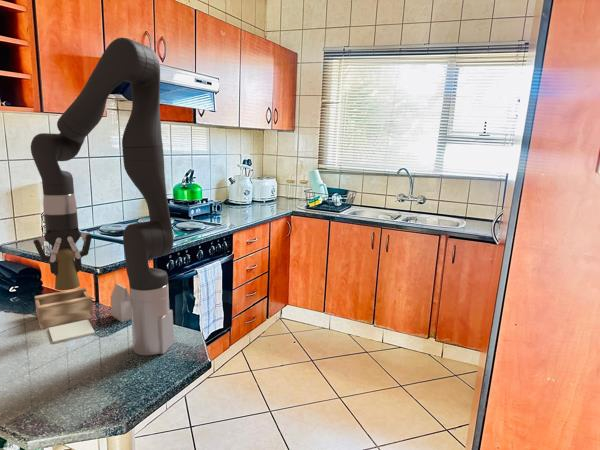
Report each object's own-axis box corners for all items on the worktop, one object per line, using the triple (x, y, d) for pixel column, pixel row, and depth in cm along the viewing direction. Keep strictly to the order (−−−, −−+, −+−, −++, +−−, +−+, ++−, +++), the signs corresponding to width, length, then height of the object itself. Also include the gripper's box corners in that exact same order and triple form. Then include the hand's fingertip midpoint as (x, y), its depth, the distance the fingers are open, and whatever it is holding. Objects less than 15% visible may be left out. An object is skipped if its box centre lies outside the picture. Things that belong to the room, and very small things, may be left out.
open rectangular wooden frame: (86, 305, 132) (84, 287, 131) (93, 317, 124) (91, 297, 122) (36, 315, 124) (34, 296, 123) (40, 328, 116) (38, 308, 114)
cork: (69, 291, 108) (65, 251, 106) (49, 289, 109) (45, 249, 107) (85, 283, 114) (82, 245, 112) (66, 282, 115) (63, 244, 113)
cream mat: (87, 321, 121) (87, 319, 121) (95, 333, 113) (94, 331, 113) (48, 329, 115) (48, 327, 115) (53, 343, 107) (53, 341, 107)
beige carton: (121, 322, 121) (119, 290, 119) (111, 315, 125) (109, 284, 123) (133, 318, 124) (131, 287, 122) (123, 312, 128) (121, 281, 126)
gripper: (87, 207, 115) (92, 265, 118) (27, 211, 106) (34, 274, 110) (93, 210, 109) (98, 272, 112) (29, 215, 100) (36, 281, 104)
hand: (66, 272), depth 111 cm, fingers closed on cork, 4 cm apart
